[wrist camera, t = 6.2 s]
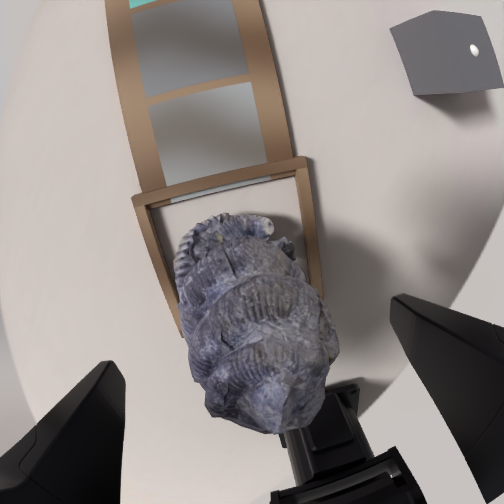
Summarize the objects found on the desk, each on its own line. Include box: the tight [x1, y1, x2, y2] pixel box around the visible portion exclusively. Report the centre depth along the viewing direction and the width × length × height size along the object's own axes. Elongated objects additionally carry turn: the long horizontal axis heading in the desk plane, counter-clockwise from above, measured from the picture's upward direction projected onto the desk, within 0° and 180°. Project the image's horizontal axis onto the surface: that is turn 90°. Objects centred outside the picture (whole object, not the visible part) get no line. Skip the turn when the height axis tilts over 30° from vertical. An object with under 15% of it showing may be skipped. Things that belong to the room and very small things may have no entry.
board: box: [105, 0, 296, 210], centre depth 10 cm, size 15×7×1 cm, turn 11°
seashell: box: [173, 213, 339, 435], centre depth 10 cm, size 5×5×10 cm
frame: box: [131, 156, 324, 338], centre depth 14 cm, size 8×8×1 cm
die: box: [390, 10, 504, 95], centre depth 10 cm, size 4×4×4 cm
